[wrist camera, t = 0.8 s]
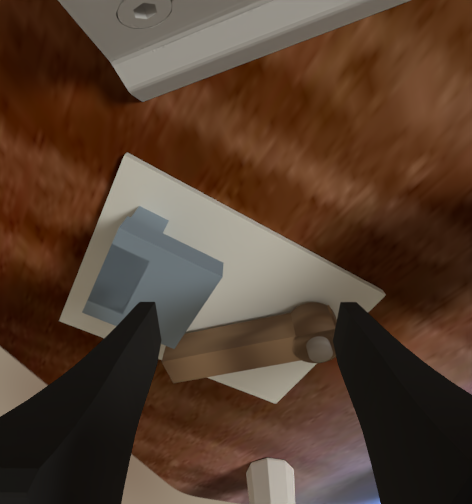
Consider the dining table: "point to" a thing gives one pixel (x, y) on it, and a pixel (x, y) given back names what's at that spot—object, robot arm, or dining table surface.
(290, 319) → the link arm
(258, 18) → the white rounded block
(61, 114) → the dining table surface
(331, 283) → the keeper board
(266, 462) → the pepper shaker
